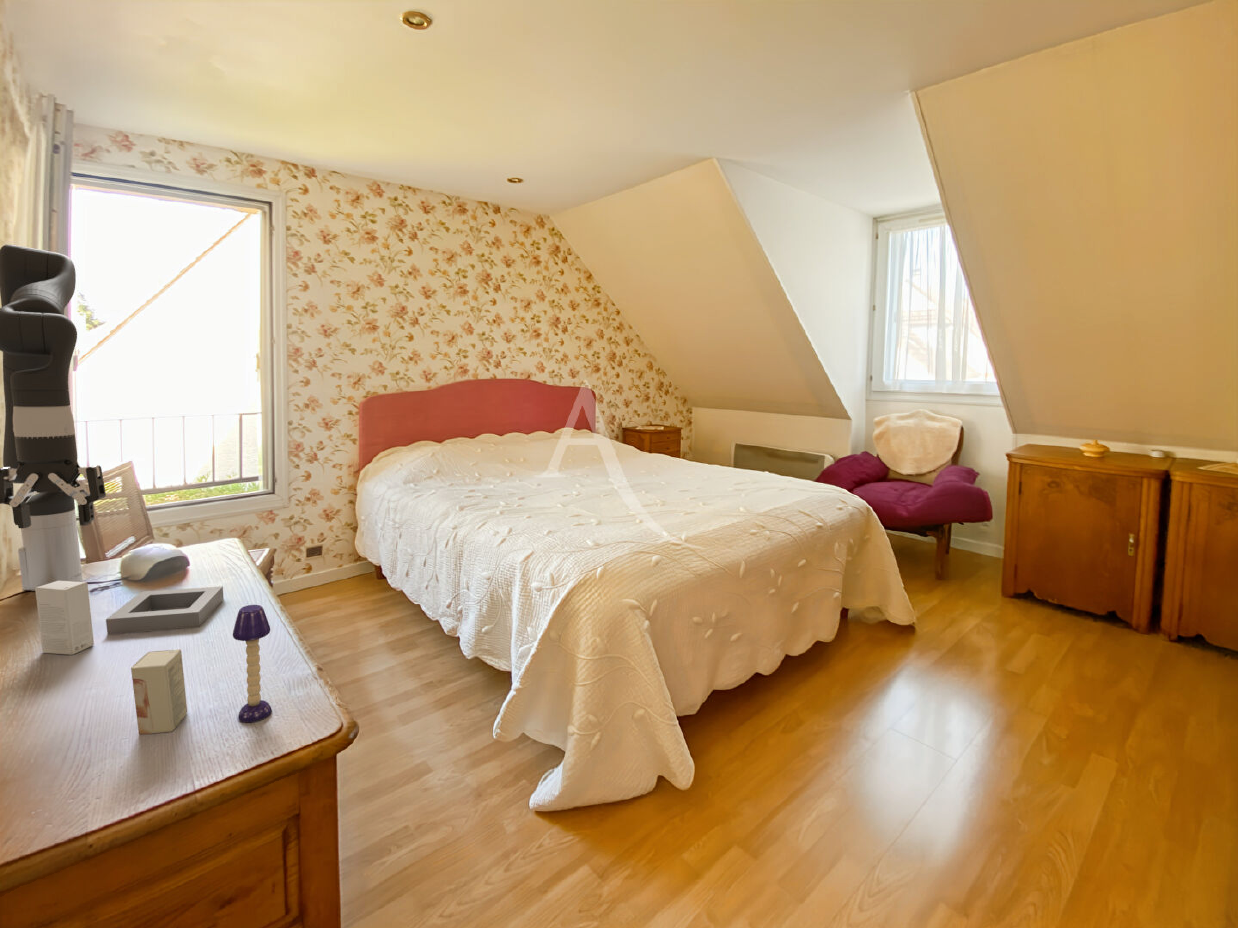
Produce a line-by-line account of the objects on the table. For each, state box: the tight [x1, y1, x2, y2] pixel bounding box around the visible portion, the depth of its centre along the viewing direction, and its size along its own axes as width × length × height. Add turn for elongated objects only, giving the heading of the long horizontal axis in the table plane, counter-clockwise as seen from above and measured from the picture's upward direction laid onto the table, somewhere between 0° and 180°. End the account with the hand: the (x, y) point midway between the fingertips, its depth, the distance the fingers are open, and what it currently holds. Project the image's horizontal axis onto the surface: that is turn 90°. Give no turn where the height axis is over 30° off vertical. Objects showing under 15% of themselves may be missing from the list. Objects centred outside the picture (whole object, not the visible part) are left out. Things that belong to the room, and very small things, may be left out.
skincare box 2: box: [130, 649, 188, 735], centre depth 86 cm, size 5×4×10 cm
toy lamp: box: [232, 604, 273, 723], centre depth 88 cm, size 5×5×17 cm
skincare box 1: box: [34, 581, 95, 656], centre depth 107 cm, size 6×4×12 cm
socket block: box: [105, 585, 225, 635], centre depth 124 cm, size 15×15×3 cm
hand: (55, 526), depth 105 cm, fingers open, 8 cm apart
